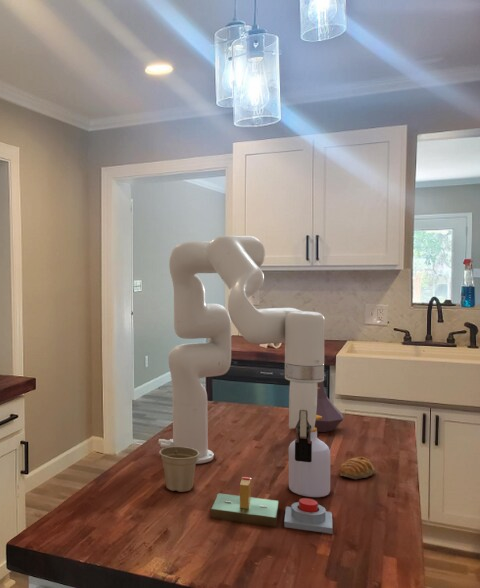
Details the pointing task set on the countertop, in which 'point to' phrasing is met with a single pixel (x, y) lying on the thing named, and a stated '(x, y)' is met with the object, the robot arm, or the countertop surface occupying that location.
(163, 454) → the flower pot
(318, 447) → the soap bottle
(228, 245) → the robot arm
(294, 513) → the grey square piece
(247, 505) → the yellow bar
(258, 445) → the countertop surface
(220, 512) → the plate
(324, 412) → the flask
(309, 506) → the button
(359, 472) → the pastry
